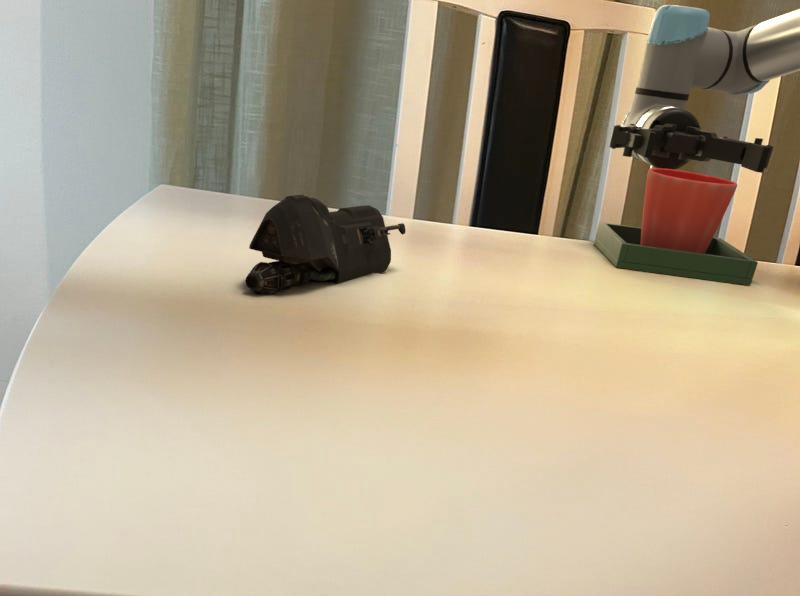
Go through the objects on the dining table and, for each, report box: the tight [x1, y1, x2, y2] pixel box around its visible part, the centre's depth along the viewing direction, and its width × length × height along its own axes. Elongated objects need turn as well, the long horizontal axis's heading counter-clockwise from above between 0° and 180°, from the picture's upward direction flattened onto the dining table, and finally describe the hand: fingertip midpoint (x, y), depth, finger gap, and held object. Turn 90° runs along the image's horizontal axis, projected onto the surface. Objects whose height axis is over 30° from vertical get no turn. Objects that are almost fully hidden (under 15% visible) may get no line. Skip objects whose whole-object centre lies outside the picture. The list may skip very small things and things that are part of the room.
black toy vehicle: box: [245, 194, 406, 295], centre depth 95 cm, size 7×25×8 cm, turn 152°
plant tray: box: [593, 221, 759, 287], centre depth 129 cm, size 17×17×3 cm
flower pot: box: [640, 168, 738, 254], centre depth 127 cm, size 11×11×10 cm
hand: (707, 152), depth 120 cm, fingers open, 13 cm apart
